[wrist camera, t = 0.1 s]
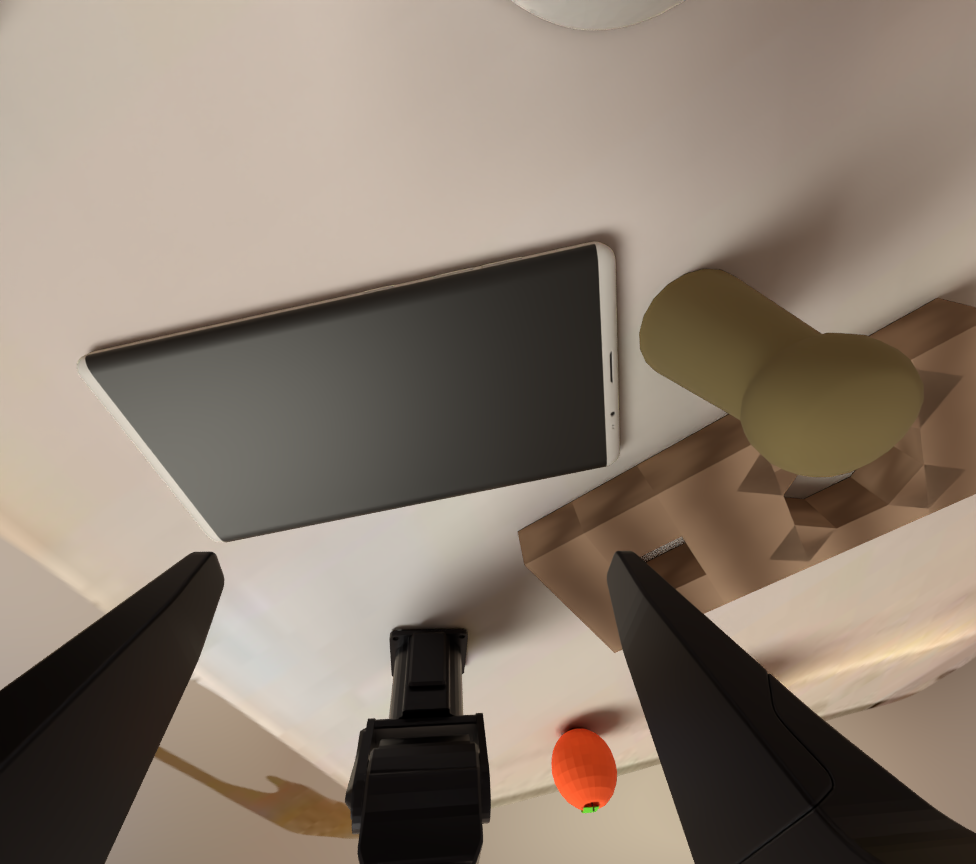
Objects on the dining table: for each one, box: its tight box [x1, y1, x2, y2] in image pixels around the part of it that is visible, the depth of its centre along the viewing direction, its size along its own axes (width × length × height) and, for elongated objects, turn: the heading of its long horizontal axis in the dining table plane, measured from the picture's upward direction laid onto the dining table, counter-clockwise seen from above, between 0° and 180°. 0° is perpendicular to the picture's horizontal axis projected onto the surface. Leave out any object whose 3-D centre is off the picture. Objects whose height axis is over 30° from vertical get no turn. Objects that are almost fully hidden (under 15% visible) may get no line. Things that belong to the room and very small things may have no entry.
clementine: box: [552, 729, 617, 813], centre depth 45 cm, size 8×7×7 cm
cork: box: [639, 269, 924, 477], centre depth 18 cm, size 6×6×11 cm
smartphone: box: [77, 242, 620, 543], centre depth 24 cm, size 13×27×2 cm, turn 101°
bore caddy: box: [518, 298, 976, 653], centre depth 28 cm, size 28×14×3 cm, turn 125°
